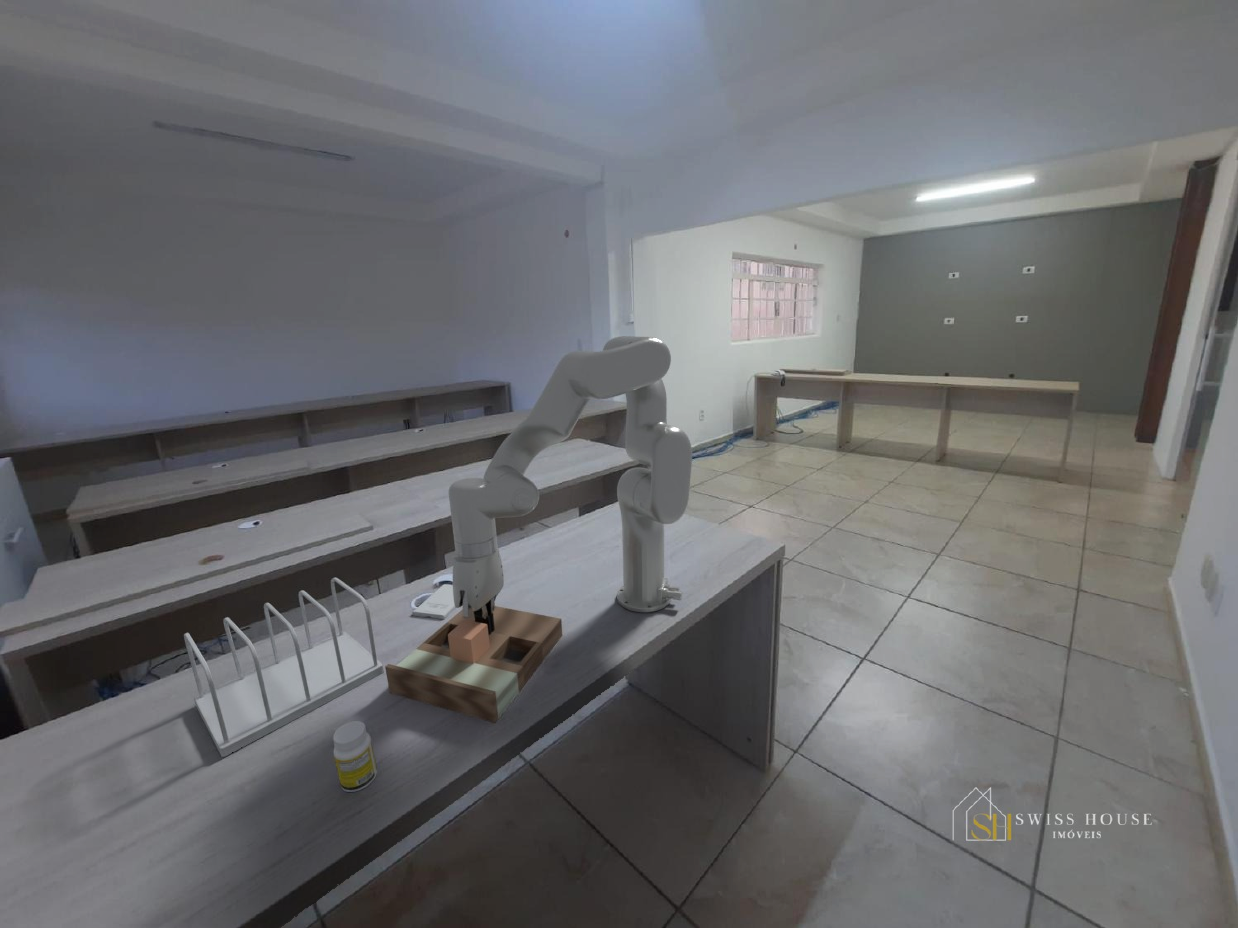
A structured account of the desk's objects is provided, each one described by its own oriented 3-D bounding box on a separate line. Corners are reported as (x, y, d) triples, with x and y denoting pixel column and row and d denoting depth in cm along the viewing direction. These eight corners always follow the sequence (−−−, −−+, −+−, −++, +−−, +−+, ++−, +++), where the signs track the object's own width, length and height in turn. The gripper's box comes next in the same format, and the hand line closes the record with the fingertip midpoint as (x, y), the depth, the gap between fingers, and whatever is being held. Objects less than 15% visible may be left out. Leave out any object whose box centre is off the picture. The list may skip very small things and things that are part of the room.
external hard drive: (473, 592, 122) (444, 621, 110) (443, 589, 124) (412, 617, 112) (472, 586, 122) (443, 614, 110) (443, 583, 123) (411, 610, 112)
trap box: (562, 635, 103) (560, 612, 102) (495, 722, 81) (492, 694, 79) (473, 617, 111) (470, 595, 109) (389, 692, 88) (385, 666, 87)
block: (489, 647, 94) (487, 624, 92) (473, 663, 89) (470, 639, 88) (467, 642, 95) (465, 619, 94) (450, 658, 91) (447, 634, 90)
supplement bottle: (349, 765, 74) (339, 719, 71) (382, 762, 74) (373, 716, 72) (334, 795, 69) (323, 746, 67) (369, 791, 69) (359, 743, 67)
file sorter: (222, 759, 75) (196, 673, 71) (195, 707, 86) (171, 629, 82) (385, 672, 94) (372, 599, 90) (346, 638, 105) (332, 571, 100)
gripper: (483, 527, 99) (491, 608, 104) (432, 559, 86) (444, 650, 91) (515, 532, 97) (522, 614, 102) (468, 566, 83) (478, 659, 88)
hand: (485, 631), depth 96 cm, fingers closed
